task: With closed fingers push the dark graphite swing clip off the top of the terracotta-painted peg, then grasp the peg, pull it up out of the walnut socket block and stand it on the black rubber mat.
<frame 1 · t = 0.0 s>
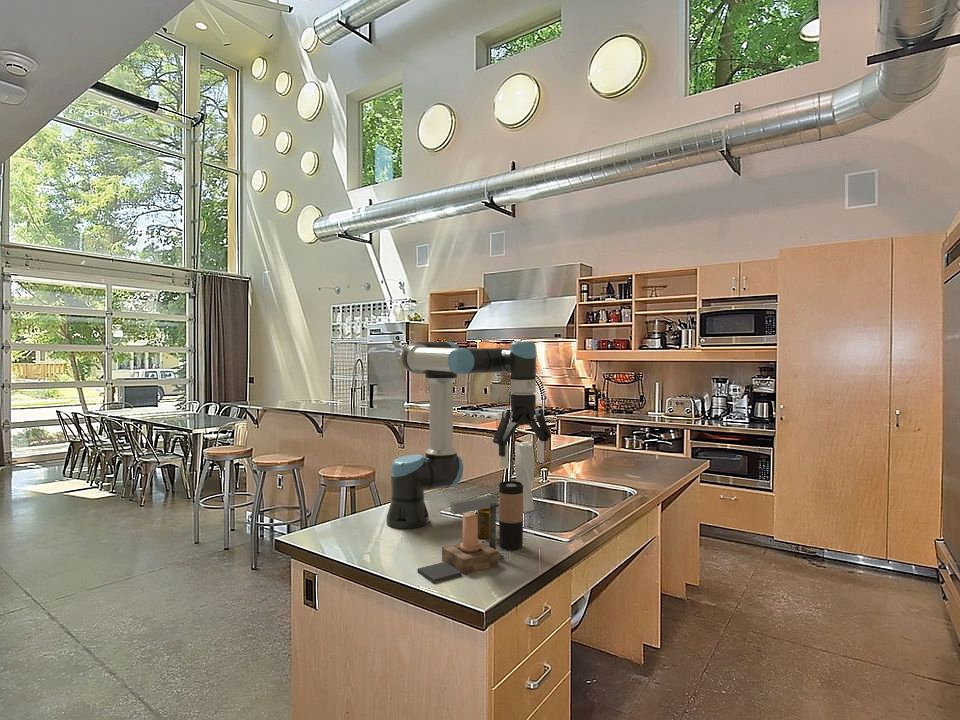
hand: (522, 464, 171), 28 cm above the counter, fingers open, 13 cm apart
peg: (470, 562, 167), resting in socket block
condiment: (484, 537, 190), on the counter
skyscraper: (525, 511, 220), on the counter
mat: (439, 573, 159), on the counter
socket block: (470, 562, 167), on the counter
clip: (475, 504, 168), point 17 cm above the counter, hinge at 0.0°
travel mug: (510, 547, 181), on the counter
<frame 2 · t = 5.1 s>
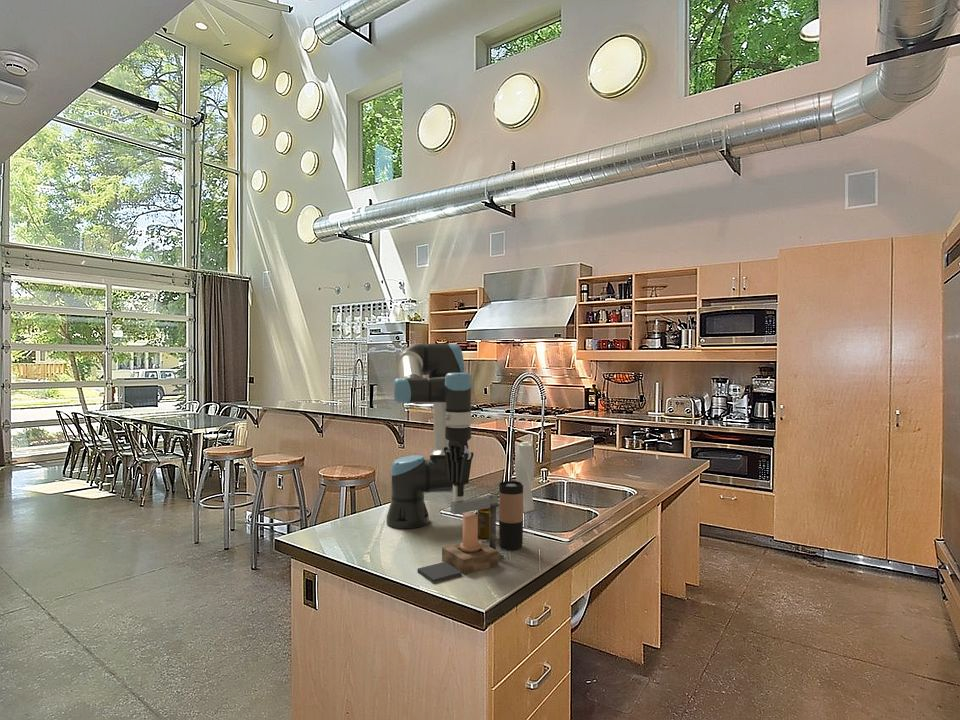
hand: (458, 506, 167), 17 cm above the counter, fingers closed
clip: (475, 504, 168), point 17 cm above the counter, hinge at 0.0°, touching gripper
everything else where it was.
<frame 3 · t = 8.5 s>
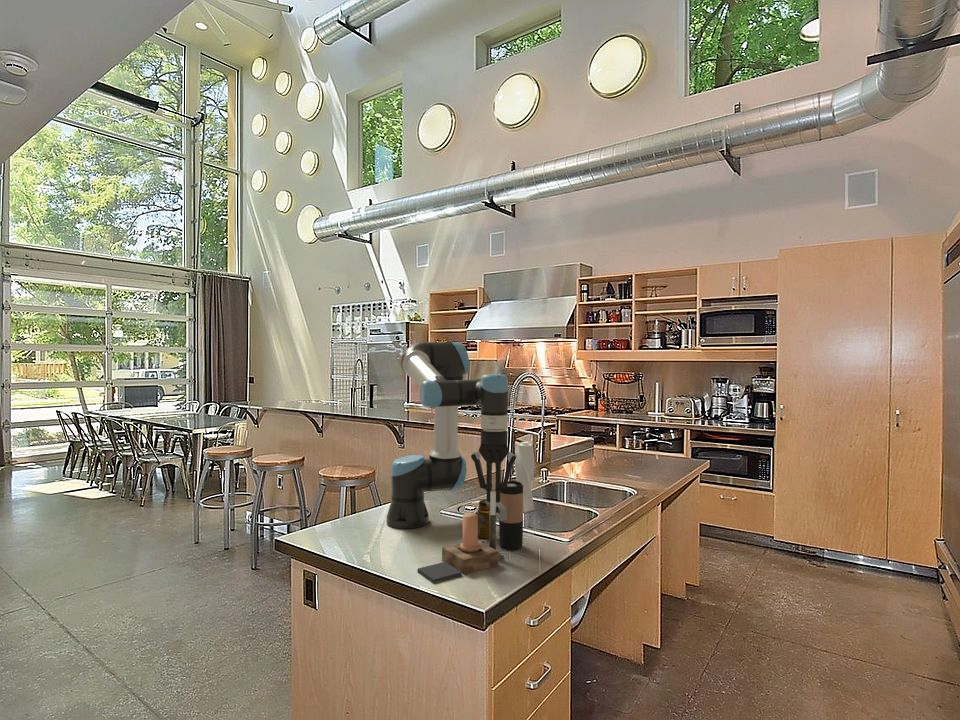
hand: (493, 513, 160), 17 cm above the counter, fingers closed
clip: (497, 506, 165), point 17 cm above the counter, hinge at 66.9°, touching gripper
everything else where it was.
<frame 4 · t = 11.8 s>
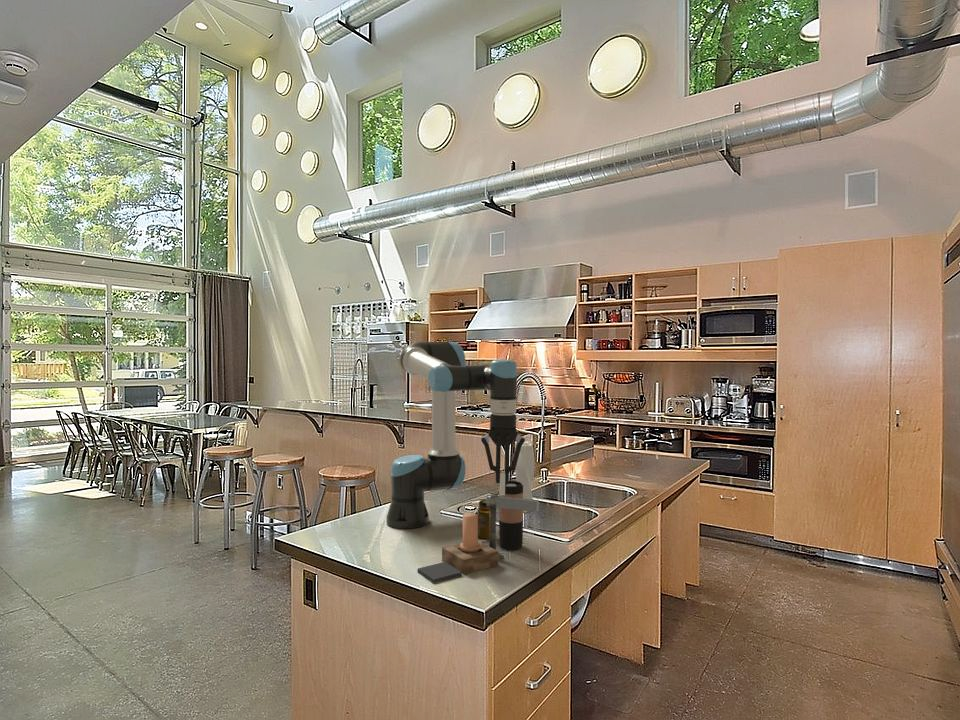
hand: (502, 494, 166), 20 cm above the counter, fingers closed
clip: (511, 503, 169), point 17 cm above the counter, hinge at 123.9°
everything else where it was.
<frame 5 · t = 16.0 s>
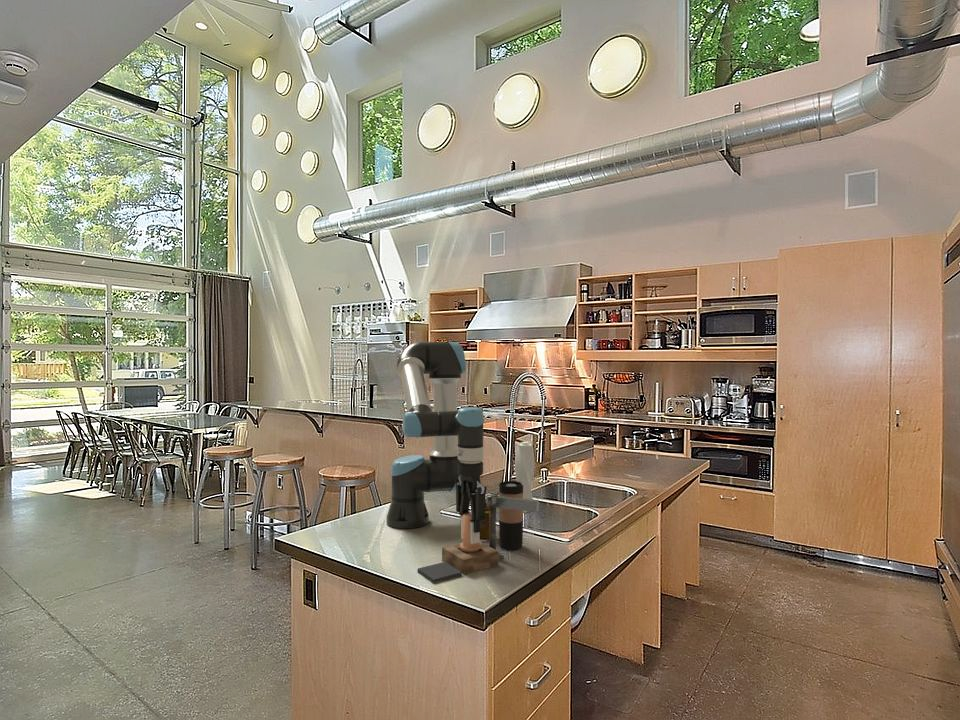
hand: (470, 540, 167), 7 cm above the counter, fingers closed on peg, 4 cm apart
peg: (470, 562, 167), resting in socket block, touching gripper
everything else where it was.
when the fingers open (9 cm above the counter, at t = 21.7 s): peg drops 1 cm, resting on mat.
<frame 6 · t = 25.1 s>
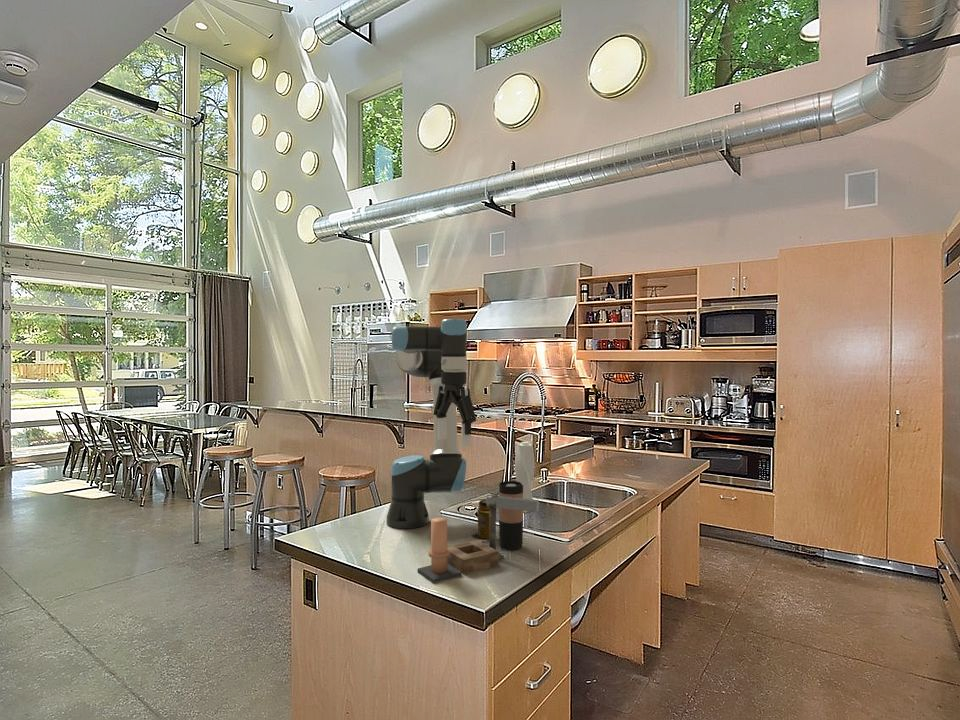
hand: (453, 442, 170), 35 cm above the counter, fingers open, 13 cm apart
peg: (439, 570, 159), point 1 cm above the counter, touching mat
everything else where it was.
at the end: peg inside the target area on the mat (0.1 cm from its centre), point 1.0 cm above the mat's base; peg tilted 1°; clip at +124° (first picture: +0°) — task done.
